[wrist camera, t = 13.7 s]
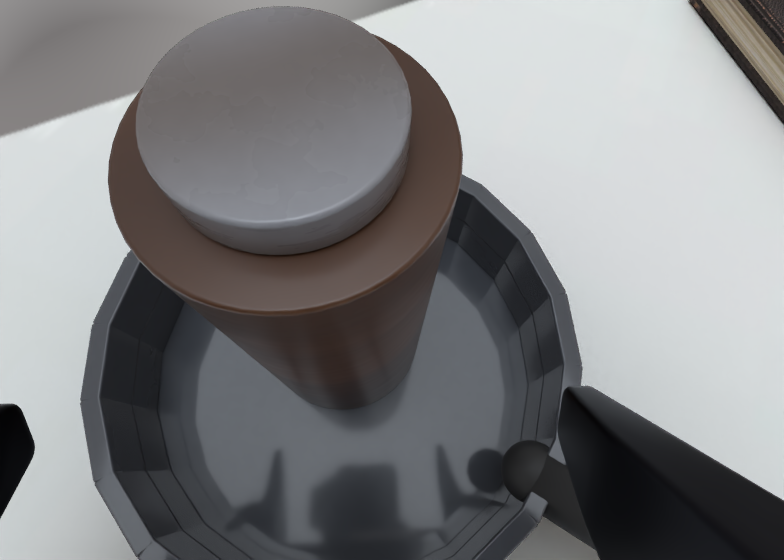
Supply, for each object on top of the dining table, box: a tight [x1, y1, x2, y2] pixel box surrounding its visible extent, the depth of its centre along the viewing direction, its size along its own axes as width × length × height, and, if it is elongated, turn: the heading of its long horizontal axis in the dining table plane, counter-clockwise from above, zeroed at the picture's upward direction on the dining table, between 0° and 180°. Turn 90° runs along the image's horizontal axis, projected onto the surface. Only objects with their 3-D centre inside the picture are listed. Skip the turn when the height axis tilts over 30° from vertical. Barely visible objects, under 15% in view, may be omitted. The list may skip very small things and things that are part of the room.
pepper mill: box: [108, 6, 463, 410], centre depth 13 cm, size 6×6×13 cm
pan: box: [80, 175, 582, 560], centre depth 17 cm, size 15×15×4 cm
